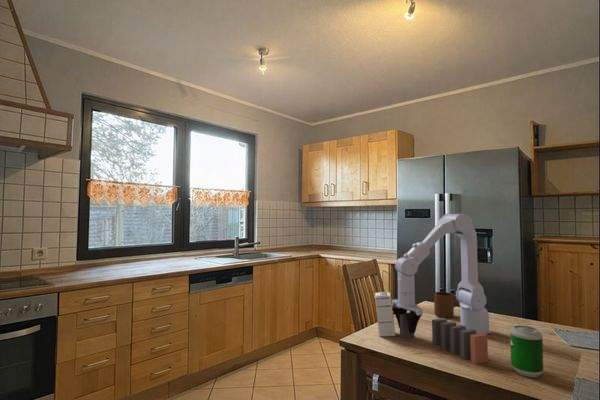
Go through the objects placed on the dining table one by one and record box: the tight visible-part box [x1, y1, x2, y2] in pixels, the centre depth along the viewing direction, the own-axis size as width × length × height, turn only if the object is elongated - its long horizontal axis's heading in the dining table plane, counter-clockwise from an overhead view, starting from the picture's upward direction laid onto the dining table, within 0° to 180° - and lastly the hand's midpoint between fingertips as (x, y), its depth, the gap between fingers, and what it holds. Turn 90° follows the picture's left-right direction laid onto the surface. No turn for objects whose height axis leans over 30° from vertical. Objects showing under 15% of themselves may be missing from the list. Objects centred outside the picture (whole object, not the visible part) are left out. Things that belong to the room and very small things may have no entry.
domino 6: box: [470, 333, 489, 365], centre depth 106 cm, size 5×2×8 cm, turn 111°
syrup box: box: [374, 291, 396, 337], centre depth 130 cm, size 6×6×14 cm
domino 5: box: [459, 329, 476, 360], centre depth 109 cm, size 5×2×8 cm, turn 112°
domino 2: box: [431, 318, 448, 346], centre depth 121 cm, size 5×2×8 cm, turn 112°
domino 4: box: [449, 324, 466, 355], centre depth 113 cm, size 5×2×8 cm, turn 112°
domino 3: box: [440, 321, 457, 350], centre depth 117 cm, size 5×2×8 cm, turn 112°
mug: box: [433, 291, 460, 319], centre depth 150 cm, size 12×8×9 cm, turn 92°
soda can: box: [509, 324, 544, 378], centre depth 99 cm, size 8×8×12 cm
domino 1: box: [399, 314, 415, 340], centre depth 127 cm, size 5×2×8 cm, turn 112°
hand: (407, 330), depth 127 cm, fingers open, 5 cm apart
